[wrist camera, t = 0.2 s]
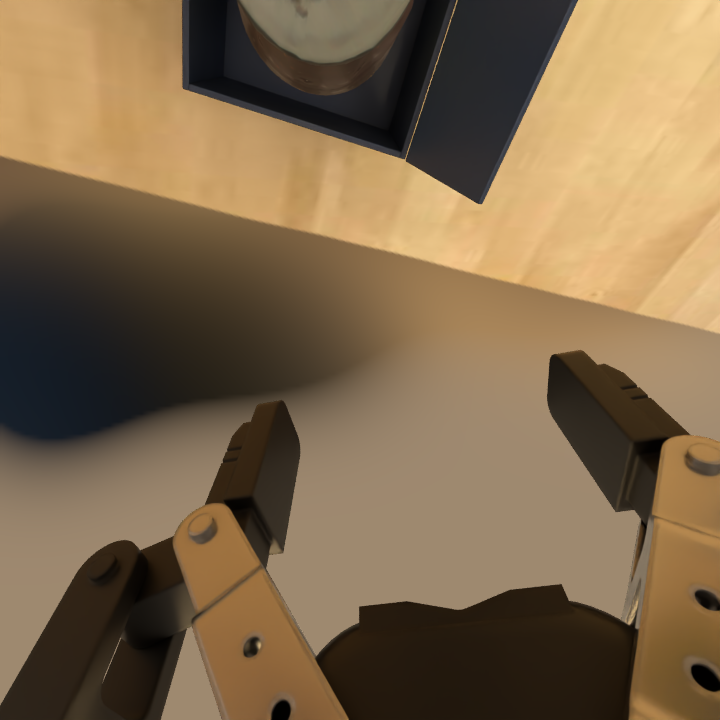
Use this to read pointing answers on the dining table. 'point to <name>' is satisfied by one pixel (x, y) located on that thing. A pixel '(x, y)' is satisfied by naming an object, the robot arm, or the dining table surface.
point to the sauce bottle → (323, 39)
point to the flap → (484, 88)
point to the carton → (316, 112)
